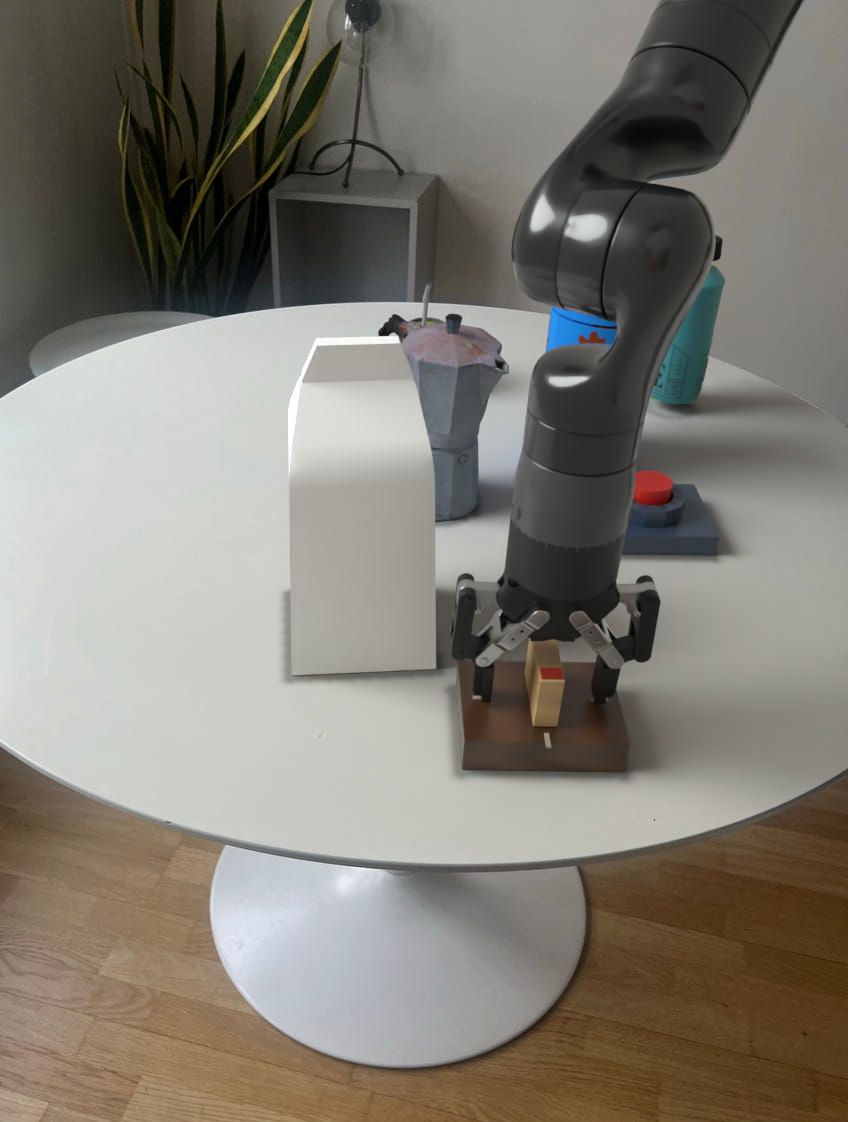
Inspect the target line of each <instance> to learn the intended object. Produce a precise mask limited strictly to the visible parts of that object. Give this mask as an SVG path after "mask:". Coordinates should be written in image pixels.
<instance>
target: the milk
mask: <svg viewBox="0 0 848 1122" xmlns="http://www.w3.org/2000/svg"><path fill="white" fill-rule="evenodd" d="M300 374H301V375H299V377H298V379H297V382H296V384H295V386H294V389H293V391H292V394H291V397H290V400H289V403H288V412H287V434H288V436H287V437H288V439H287V440H288V444H287V445H288V446H287V447H288V509H289V510H288V512H289V513H288V514H289V515H288V516H289V521H288V522H289V523H288V524H289V573H290V574H289V581H290V583H289V584H290V585H289V586H290V587H289V589H290V591H289V592H290V650H291V652H290V656H291V658H290V659H291V663H290V664H291V676H309V675H311V676H312V675H329V674H330V675H335V674H353V673H354V674H355V673H372V672H373V673H375V672H376V673H378V672H400V671H421V670H423V671H424V670H436V669H437V607H436V606H437V605H436V604H437V601H436V600H437V597H436V595H437V594H436V593H437V592H436V590H437V588H436V520H435V473H434V464H433V458H432V452H431V447H430V443H429V438H428V434H427V430H426V425H425V421H424V417H423V413H422V408H421V404H420V400H419V396H418V391H417V387H416V383H415V380H414V375H413V372H412V369H411V366H410V364H409V361H408V359H407V356H406V354H405V351H404V349H403V347H402V344H401V342H400V339H399V337H398V335H389V336H379V335H378V336H345V337H344V336H342V337H341V336H340V337H316V338H315V340H314V342H313V344H312V347H311V349H310V351H309V354H308V356H307V359H306V360H305V363H304V365H303V368H302V370H301V373H300Z"/></svg>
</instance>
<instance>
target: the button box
mask: <svg viewBox="0 0 848 1122" xmlns="http://www.w3.org/2000/svg"><path fill="white" fill-rule="evenodd" d="M711 518H712V517H711V516H710V514H709V512H708V510H707V508H706V505H705V503H704V502H703V499H702V497H701V495H700V493H699V491H698V488H697V487H696V485H695V484H694V483H675V482H673V487H672V491H671V495H670V500H669V502H668V503H666V504H663V505H645V504H642V503H638V502H635V501H634V500H633V511H632V516H631V517H630V520H629V522H628V527H627V532H626V536H625V541H624V546H623V551H622V556H623V555H624V556H625V555H626V556H697V557H698V556H701V557H705V556H706V557H714V556H715V555H716V552H717V548H718V544H719V540H720V534H719V533H718V531H717V529H716V527H715V525H714V523H713V521H712V519H711Z"/></svg>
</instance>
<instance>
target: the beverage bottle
mask: <svg viewBox="0 0 848 1122" xmlns="http://www.w3.org/2000/svg"><path fill="white" fill-rule="evenodd" d="M715 239H716V244H715V252H714V257H713V261H712V262H716V261H719V260H720V259H721V256H722V250H723V249H722V248H723V243H724V242H723V238H722V237H721V236H719V235H716V234H715ZM725 284H726V278H725V275H723V273H722V272H721V270H720V269H719V268H718V267H717V266H716V265H713V264H712V265H711V268H710V271H709V273H708V275H707V277H706V280H705V282H704V284H703V286H702V288H701V290H700V292H699V294H698V296H697V298H696V300H695V301H694V303H693V305H692V307H691V309H690V311H689V312H688V314H687V316H686V318H685V320H684V321H683V323H682V325H681V327H680V329H679V331H678V333H677V335H676V336H675V338H674V340H673V342H672V344H671V346H670V349H669V351H668V353H667V355H666V358H665V360H664V362H663V364H662V367H661V369H660V372H659V374H658V377H657V379H656V382H655V384H654V387H653V390H652V392H651V395H650V397H651V398H653V399H655V400H656V401H659V402H661V403H662V402H663V403H666V404H671V405H687V404H691V403H693V402H695V401H697V400H698V398H699V396H700V395H701V394H702V392H701V391H702V390H703V387H704V383H705V378H706V377H705V376H706V375H707V374H706V372H707V368H708V365H709V359H710V355H711V347H712V345H713V342H714V341H713V338H714V332H715V326H716V321H717V317H718V313H719V308H720V303H721V299H722V294H723V290H724V286H725Z"/></svg>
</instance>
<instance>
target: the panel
mask: <svg viewBox="0 0 848 1122" xmlns="http://www.w3.org/2000/svg"><path fill="white" fill-rule="evenodd" d="M595 663H596V661H561V664H562V669H563V674H564V678H565V685H564V691H563V697H562V702H561V708H560V714H559V719H558V725H557V727H541V726H533V723H532V717H531V710H530V704H529V698H528V691H527V685H526V679H525V666H526V660H495V661H494V666H495V670H494V679H493V687H492V696H491V703H488V702H481V697H480V696H475V695H474V692H473V689H472V667H473V661H472V660H470V659H466V660H465V659H463V660H457V664H456V665H457V667H456V679H455V698H456V710H457V712H456V713H457V724H458V725H457V726H458V737H459V750H460V751H459V753H460V764H461V765H460V766H461V770H481V771H482V770H486V771H542V772H543V771H544V772H545V771H551V772H610V773H611V772H613V773H614V772H615V773H616V772H617V773H624V772H625V768H626V764H627V761H628V756H629V752H630V749H631V745H632V743H631V742H632V741H631V738H630V735H629V732H628V727H627V724H626V719H625V716H624V712H623V709H622V706H621V700H620V697H619V694H618V690H617V689H616V692H615V693H614V695H613V696H612V697H606V702H605V704H595V703H594V699H593V695H592V690H591V683H592V677H593V673H594V668H595Z"/></svg>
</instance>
